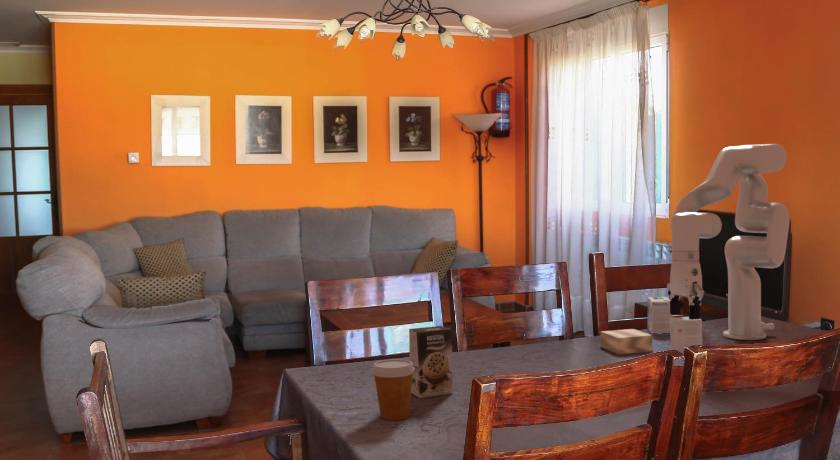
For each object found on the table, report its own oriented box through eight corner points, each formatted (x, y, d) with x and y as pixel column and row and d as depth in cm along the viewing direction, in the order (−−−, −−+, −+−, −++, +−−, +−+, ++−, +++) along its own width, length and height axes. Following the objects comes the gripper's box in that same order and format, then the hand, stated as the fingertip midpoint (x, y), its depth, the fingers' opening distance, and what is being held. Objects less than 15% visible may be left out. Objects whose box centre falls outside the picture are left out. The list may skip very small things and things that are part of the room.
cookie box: (419, 398, 203) (417, 332, 202) (409, 392, 209) (407, 328, 208) (454, 393, 206) (452, 328, 205) (442, 388, 212) (441, 324, 211)
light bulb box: (647, 328, 282) (646, 296, 282) (667, 328, 281) (667, 296, 281) (651, 334, 272) (651, 301, 271) (672, 334, 271) (672, 301, 270)
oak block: (633, 344, 258) (633, 328, 258) (652, 352, 248) (652, 335, 247) (600, 347, 256) (600, 331, 255) (618, 355, 245) (618, 338, 245)
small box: (698, 352, 244) (698, 316, 244) (702, 356, 239) (702, 319, 238) (670, 352, 245) (669, 316, 244) (673, 356, 240) (673, 320, 239)
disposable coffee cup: (376, 410, 194) (375, 358, 193) (417, 410, 193) (416, 358, 192) (370, 422, 184) (368, 368, 184) (413, 422, 184) (412, 368, 183)
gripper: (714, 258, 233) (714, 320, 233) (680, 254, 249) (679, 311, 250) (690, 259, 231) (690, 321, 232) (657, 254, 247) (656, 312, 248)
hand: (684, 316), depth 241 cm, fingers open, 9 cm apart
